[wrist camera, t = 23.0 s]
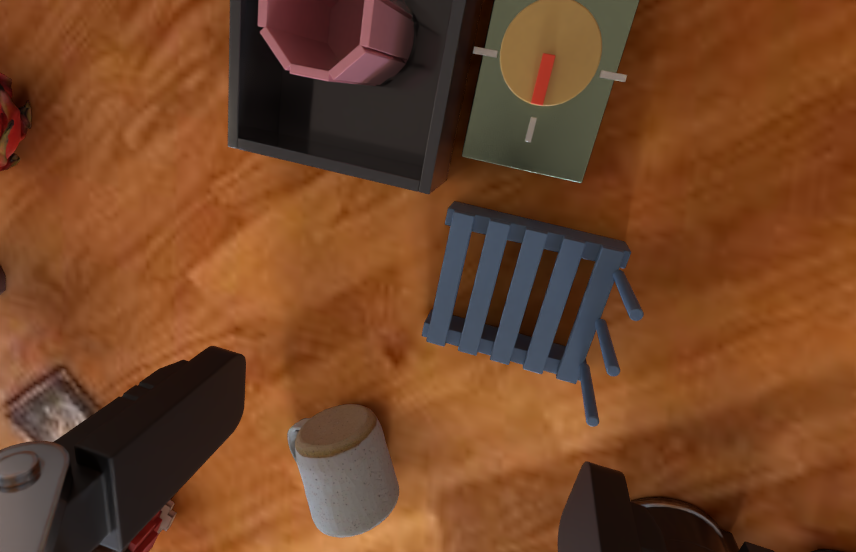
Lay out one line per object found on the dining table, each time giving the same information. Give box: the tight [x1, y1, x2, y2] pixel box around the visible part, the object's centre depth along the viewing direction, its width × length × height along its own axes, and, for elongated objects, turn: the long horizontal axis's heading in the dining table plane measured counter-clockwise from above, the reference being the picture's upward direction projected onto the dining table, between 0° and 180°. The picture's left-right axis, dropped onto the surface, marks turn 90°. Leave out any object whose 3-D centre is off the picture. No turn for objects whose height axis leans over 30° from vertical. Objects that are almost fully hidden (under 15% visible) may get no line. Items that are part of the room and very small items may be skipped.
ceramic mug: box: [288, 404, 399, 537], centre depth 39 cm, size 11×8×8 cm
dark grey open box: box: [228, 0, 483, 194], centre depth 28 cm, size 13×16×6 cm
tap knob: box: [500, 0, 602, 106], centre depth 23 cm, size 4×4×6 cm
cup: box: [258, 0, 414, 86], centre depth 26 cm, size 6×6×8 cm
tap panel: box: [462, 0, 639, 183], centre depth 27 cm, size 9×12×3 cm
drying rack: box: [422, 201, 644, 426], centre depth 30 cm, size 12×10×9 cm
